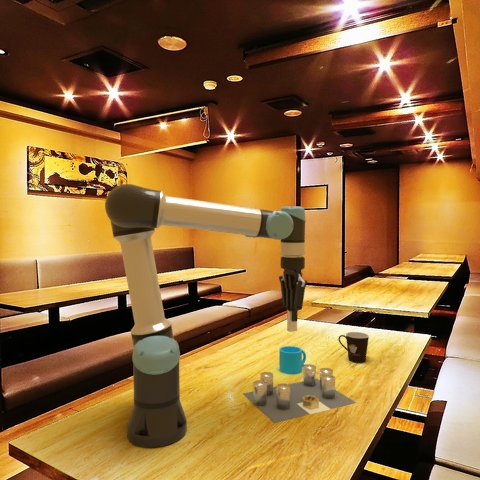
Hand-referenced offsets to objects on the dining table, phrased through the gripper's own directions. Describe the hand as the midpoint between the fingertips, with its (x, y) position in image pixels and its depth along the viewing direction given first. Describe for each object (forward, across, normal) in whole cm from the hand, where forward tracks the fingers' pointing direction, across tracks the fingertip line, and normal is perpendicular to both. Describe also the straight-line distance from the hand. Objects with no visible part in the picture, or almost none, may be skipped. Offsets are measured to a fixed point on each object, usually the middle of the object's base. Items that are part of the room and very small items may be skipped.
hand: (292, 330), depth 124 cm
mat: (+20, -5, +1) cm, 21 cm away
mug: (+20, +16, -11) cm, 28 cm away
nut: (+19, -10, 0) cm, 22 cm away
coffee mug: (+20, +16, -39) cm, 47 cm away
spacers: (+19, -3, +1) cm, 20 cm away
